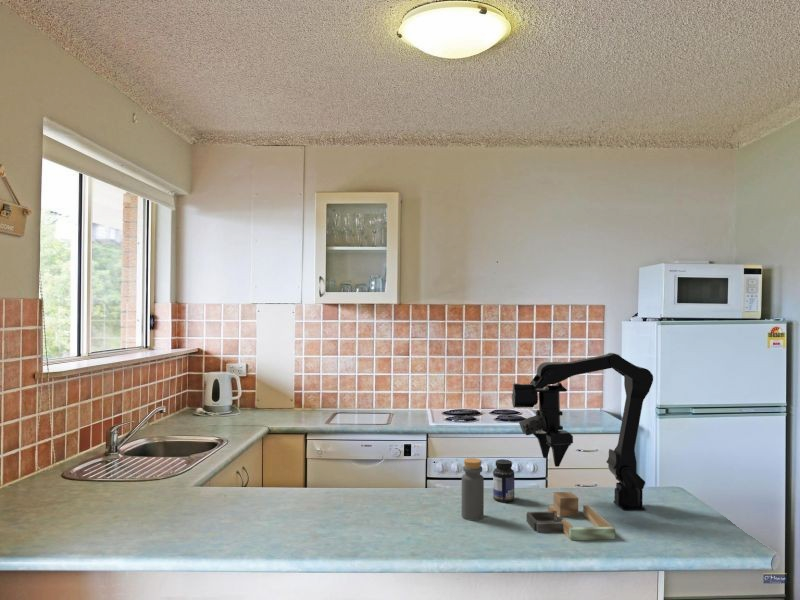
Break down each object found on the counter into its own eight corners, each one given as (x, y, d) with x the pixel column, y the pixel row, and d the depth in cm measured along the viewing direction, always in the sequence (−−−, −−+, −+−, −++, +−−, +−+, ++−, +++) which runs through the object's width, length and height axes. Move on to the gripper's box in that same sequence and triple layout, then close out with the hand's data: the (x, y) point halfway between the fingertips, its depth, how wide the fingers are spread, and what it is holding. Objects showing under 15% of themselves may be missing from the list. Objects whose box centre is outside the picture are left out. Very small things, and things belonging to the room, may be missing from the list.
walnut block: (571, 510, 157) (571, 491, 158) (578, 516, 152) (578, 498, 153) (553, 510, 157) (553, 492, 157) (560, 517, 152) (560, 498, 152)
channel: (587, 514, 154) (587, 505, 154) (614, 538, 138) (614, 528, 138) (522, 516, 152) (522, 506, 152) (542, 540, 136) (542, 530, 136)
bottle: (458, 518, 150) (458, 461, 151) (466, 511, 156) (466, 456, 156) (479, 522, 148) (479, 464, 148) (486, 514, 153) (486, 459, 153)
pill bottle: (513, 496, 168) (513, 458, 168) (515, 503, 162) (515, 464, 162) (492, 495, 169) (492, 458, 169) (493, 502, 163) (493, 463, 163)
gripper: (512, 402, 170) (513, 455, 170) (532, 414, 152) (534, 472, 151) (548, 401, 171) (549, 453, 171) (573, 412, 153) (574, 470, 153)
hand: (550, 462), depth 162 cm, fingers open, 9 cm apart
